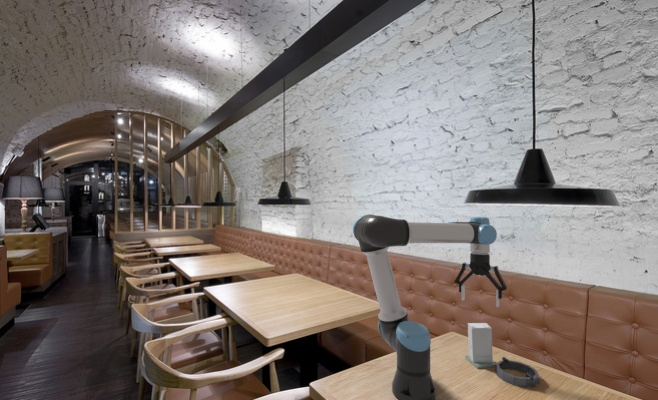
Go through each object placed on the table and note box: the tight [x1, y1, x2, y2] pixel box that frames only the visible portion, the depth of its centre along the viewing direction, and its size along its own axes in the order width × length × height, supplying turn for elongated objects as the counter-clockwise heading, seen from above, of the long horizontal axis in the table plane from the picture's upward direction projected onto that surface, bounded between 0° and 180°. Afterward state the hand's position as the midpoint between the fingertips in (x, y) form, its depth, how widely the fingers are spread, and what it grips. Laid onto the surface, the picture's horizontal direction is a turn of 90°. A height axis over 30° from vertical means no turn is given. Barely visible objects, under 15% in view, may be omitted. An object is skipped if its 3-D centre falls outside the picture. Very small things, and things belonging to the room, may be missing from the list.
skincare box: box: [467, 322, 494, 363], centre depth 136 cm, size 8×6×15 cm
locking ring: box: [495, 356, 540, 388], centre depth 124 cm, size 14×15×4 cm
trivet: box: [464, 354, 497, 369], centre depth 136 cm, size 9×9×1 cm
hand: (479, 303), depth 136 cm, fingers open, 13 cm apart
